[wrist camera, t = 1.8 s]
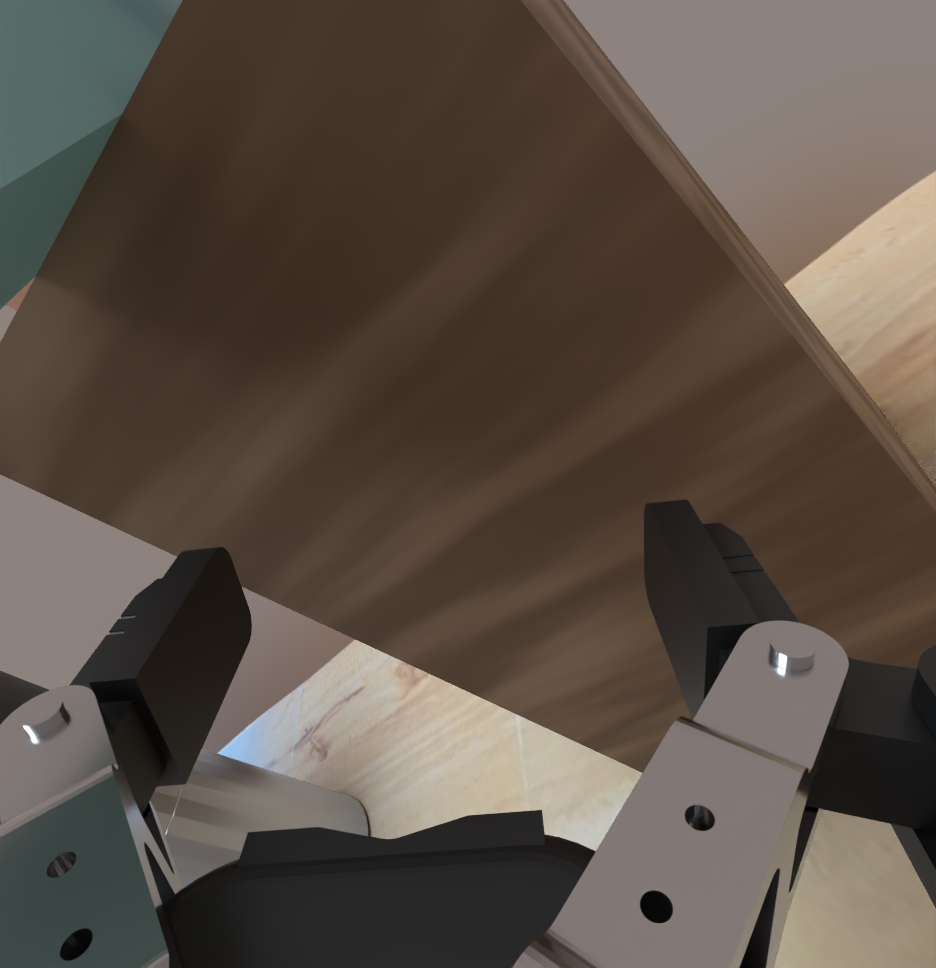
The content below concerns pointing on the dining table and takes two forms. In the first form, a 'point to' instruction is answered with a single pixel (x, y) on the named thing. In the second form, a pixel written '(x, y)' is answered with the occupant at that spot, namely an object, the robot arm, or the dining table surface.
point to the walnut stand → (449, 358)
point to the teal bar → (61, 110)
